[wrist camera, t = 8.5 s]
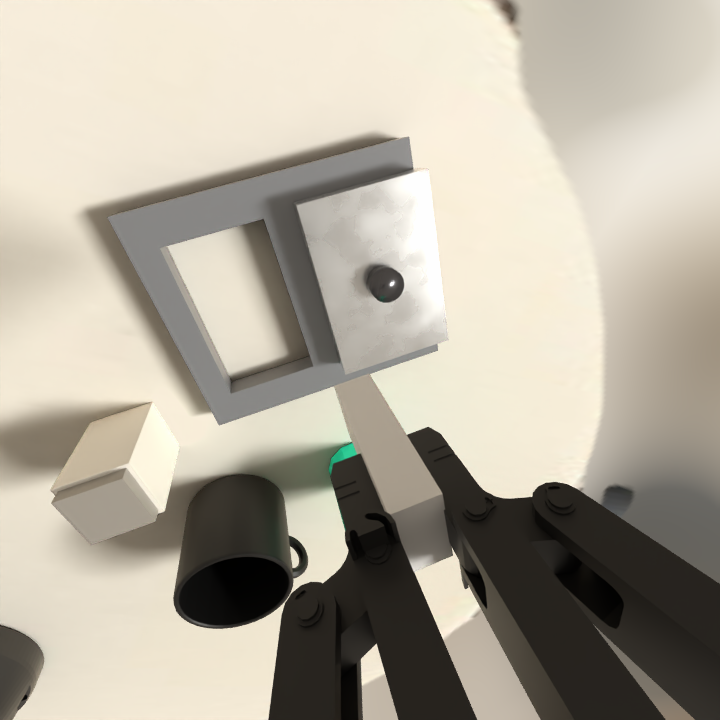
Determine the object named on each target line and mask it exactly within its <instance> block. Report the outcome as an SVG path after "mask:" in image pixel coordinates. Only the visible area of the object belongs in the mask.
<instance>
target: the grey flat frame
mask: <svg viewBox="0 0 720 720" xmlns="http://www.w3.org/2000/svg"><path fill="white" fill-rule="evenodd" d="M412 169H413V162H412V155H411V148H410V140H409V137H404V138H398V139H394V140H390V141H387V142H383V143H379V144H375V145H372V146H368V147H364V148H360V149H357V150H353V151H349V152H345V153H341V154H338V155H334V156H330V157H326V158H323V159H319V160H315V161H311V162H308V163H304V164H300V165H296V166H293V167H289V168H285V169H281V170H278V171H274V172H270V173H266V174H263V175H259V176H255V177H251V178H248V179H244V180H240V181H236V182H233V183H229V184H225V185H221V186H218V187H214V188H210V189H206V190H203V191H199V192H195V193H191V194H188V195H184V196H180V197H176V198H173V199H169V200H165V201H161V202H157V203H154V204H150V205H146V206H142V207H139V208H135V209H131V210H127V211H124V212H120V213H116V214H114V215H111V216H109V217H107V218H108V220H109V222H110V223H111V225H112V227H113V229H114V231H115V233H116V235H117V236H118V238H119V240H120V242H121V244H122V246H123V248H124V249H125V251H126V253H127V255H128V257H129V259H130V261H131V263H132V264H133V266H134V268H135V270H136V272H137V274H138V276H139V277H140V279H141V281H142V283H143V285H144V287H145V289H146V290H147V292H148V294H149V296H150V298H151V300H152V302H153V303H154V305H155V307H156V309H157V311H158V313H159V315H160V316H161V318H162V320H163V322H164V324H165V326H166V328H167V329H168V331H169V333H170V335H171V337H172V339H173V341H174V343H175V344H176V346H177V348H178V350H179V352H180V354H181V356H182V357H183V359H184V361H185V363H186V365H187V367H188V369H189V370H190V372H191V374H192V376H193V378H194V380H195V382H196V383H197V385H198V387H199V389H200V391H201V393H202V395H203V396H204V398H205V400H206V402H207V404H208V406H209V408H210V409H211V411H212V413H213V415H214V417H215V419H216V421H217V422H218V424H219V425H222V424H225V423H228V422H231V421H234V420H236V419H239V418H242V417H245V416H248V415H251V414H254V413H257V412H260V411H263V410H266V409H269V408H272V407H274V406H277V405H280V404H283V403H286V402H289V401H292V400H295V399H298V398H301V397H304V396H307V395H309V394H312V393H315V392H318V391H321V390H324V389H327V388H330V387H333V386H335V385H338V384H341V383H344V382H346V381H349V380H352V379H355V378H358V377H361V376H364V375H367V374H371V373H374V372H377V371H380V370H382V369H385V368H388V367H391V366H394V365H397V364H400V363H403V362H406V361H409V360H412V359H415V358H418V357H420V356H423V355H426V354H429V353H432V352H435V351H438V346H437V344H435V345H432V346H429V347H426V348H423V349H420V350H417V351H414V352H411V353H408V354H405V355H402V356H399V357H396V358H393V359H391V360H388V361H385V362H382V363H379V364H376V365H373V366H370V367H367V368H364V369H361V370H358V371H355V372H352V373H349V374H346V375H345V372H344V370H343V368H342V366H341V364H340V361H339V357H338V354H337V351H336V347H335V344H334V340H333V337H332V334H331V330H330V327H329V323H328V320H327V317H326V313H325V310H324V306H323V303H322V300H321V296H320V293H319V289H318V286H317V283H316V279H315V276H314V272H313V269H312V265H311V262H310V259H309V255H308V252H307V248H306V245H305V242H304V238H303V235H302V231H301V228H300V225H299V221H298V218H297V214H296V211H295V208H294V204H293V202H297V201H300V200H304V199H307V198H311V197H315V196H318V195H322V194H325V193H329V192H333V191H336V190H340V189H343V188H347V187H351V186H354V185H358V184H361V183H365V182H368V181H372V180H376V179H379V178H383V177H386V176H390V175H394V174H397V173H401V172H404V171H408V170H412ZM261 219H264V221H265V224H266V227H267V230H268V233H269V236H270V239H271V242H272V245H273V248H274V251H275V254H276V257H277V260H278V263H279V266H280V269H281V272H282V275H283V277H284V280H285V283H286V286H287V289H288V292H289V295H290V298H291V301H292V304H293V307H294V310H295V313H296V316H297V319H298V322H299V325H300V328H301V331H302V334H303V337H304V340H305V343H306V346H307V349H308V352H309V355H310V356H308V357H305V358H302V359H299V360H296V361H293V362H290V363H287V364H284V365H281V366H278V367H275V368H272V369H269V370H266V371H263V372H260V373H257V374H254V375H251V376H248V377H245V378H242V379H238V380H235V381H231V379H230V377H229V375H228V373H227V371H226V369H225V367H224V365H223V363H222V360H221V358H220V356H219V354H218V352H217V350H216V348H215V346H214V344H213V342H212V340H211V337H210V335H209V333H208V331H207V329H206V327H205V325H204V323H203V321H202V319H201V317H200V315H199V312H198V310H197V308H196V306H195V304H194V302H193V300H192V298H191V296H190V294H189V292H188V289H187V287H186V285H185V283H184V281H183V279H182V277H181V275H180V273H179V271H178V269H177V266H176V264H175V262H174V260H173V258H172V256H171V254H170V252H169V250H168V248H167V246H169V245H172V244H176V243H180V242H183V241H187V240H190V239H194V238H197V237H201V236H204V235H208V234H212V233H215V232H219V231H222V230H226V229H229V228H233V227H237V226H240V225H244V224H247V223H251V222H254V221H258V220H261Z"/></svg>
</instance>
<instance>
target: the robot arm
mask: <svg viewBox="0 0 720 720" xmlns="http://www.w3.org/2000/svg"><path fill="white" fill-rule="evenodd" d="M334 387H335V390H336V394H337V397H338V400H339V403H340V406H341V409H342V413H343V416H344V419H345V422H346V425H347V429H348V432H349V435H350V438H351V440H352V443H353V445H354V448H355V450H356V453H357V455H355V456H352V457H349V458H347V459H344V460H341V461H339V462H336V463H333V467H332V471H331V476H330V477H331V481H332V484H333V488H334V491H335V495H336V498H337V501H338V505H339V508H340V512H341V515H342V519H343V522H344V526H345V529H346V531H345V542H346V544H347V547H348V549H349V551H348V555H347V558H346V560H345V562H344V564H343V565H342V567H341V568H340V569H339V570H338V571H337V572H336V573H335V574H334V575H333V576H331V577H330V578H329V579H328V580H327V581H325V582H324V583H323V584H322V583H321V582H309V583H307V584H304V585H301V586H300V587H299V588H297V589H296V590H295V591H294V592H293V593H292V594H291V595H290V597H289V598H288V600H287V601H286V603H285V606H284V609H283V613H282V618H281V625H280V633H279V641H278V649H277V657H276V665H275V673H274V680H273V688H272V696H271V704H270V712H269V720H363V714H362V684H361V658H362V657H363V656H364V655H365V654H366V653H367V652H368V651H369V650H370V649H371V648H372V647H373V646H374V645H375V644H376V643H377V646H378V650H379V653H380V657H381V660H382V664H383V667H384V671H385V674H386V677H387V681H388V685H389V688H390V692H391V695H392V699H393V702H394V706H395V709H396V713H397V716H398V720H477V718H476V716H475V714H474V711H473V709H472V707H471V704H470V702H469V700H468V697H467V695H466V693H465V690H464V688H463V686H462V683H461V681H460V678H459V676H458V674H457V672H456V669H455V667H454V664H453V662H452V660H451V657H450V655H449V653H448V650H447V648H446V646H445V644H444V641H443V639H442V636H441V634H440V632H439V629H438V627H437V625H436V622H435V620H434V618H433V615H432V613H431V611H430V608H429V606H428V604H427V601H426V599H425V597H424V594H423V592H422V590H421V587H420V585H419V583H418V580H417V578H416V576H415V573H414V572H415V571H418V570H420V569H422V568H425V567H427V566H429V565H432V564H434V563H436V562H439V561H441V560H443V559H446V558H448V557H450V556H453V553H452V548H453V550H454V552H455V554H456V555H457V557H458V559H459V562H460V569H461V575H462V581H463V585H464V588H465V589H467V588H468V585H469V587H470V589H471V591H472V593H473V595H474V596H475V598H476V600H477V602H478V604H479V606H480V608H481V609H482V611H483V613H484V615H485V617H486V619H487V621H488V622H489V624H490V626H491V628H492V630H493V632H494V634H495V635H496V637H497V639H498V641H499V643H500V645H501V647H502V648H503V650H504V652H505V654H506V656H507V658H508V660H509V661H510V663H511V665H512V667H513V669H514V671H515V672H516V675H517V676H518V678H519V680H520V682H521V684H522V686H523V688H524V689H525V691H526V693H527V695H528V697H529V699H530V701H531V702H532V704H533V706H534V708H535V710H536V712H537V714H538V715H539V717H540V719H541V720H665V718H664V717H663V716H662V714H661V713H660V712H659V711H658V709H657V708H656V706H655V705H654V704H653V702H652V701H651V700H650V699H649V697H648V696H647V695H646V693H645V692H644V691H643V689H642V688H641V687H640V685H639V684H638V683H637V682H636V680H635V679H634V678H633V676H632V675H631V674H630V672H629V671H628V670H627V668H626V667H625V666H624V664H623V663H622V662H621V661H620V659H619V658H618V657H617V655H616V654H615V653H614V651H613V650H612V649H611V647H610V646H609V645H608V643H607V642H606V641H605V640H604V638H603V637H602V636H601V634H600V633H599V632H598V630H597V629H596V628H595V626H596V627H597V628H598V629H599V630H600V631H601V632H602V633H603V634H604V635H605V636H606V637H607V638H608V639H610V640H611V641H612V642H613V643H614V644H615V645H616V646H617V647H618V648H619V649H620V650H621V651H623V653H625V654H626V655H627V656H628V657H629V658H630V659H631V660H632V661H633V662H634V663H635V664H636V665H637V666H639V667H640V668H641V669H642V670H643V671H644V672H645V673H646V674H647V675H648V676H649V677H650V678H652V680H653V681H654V682H656V683H657V684H658V685H659V686H660V687H661V688H662V689H663V690H664V691H665V692H666V693H667V694H668V695H669V696H671V697H672V698H673V699H674V700H675V701H676V702H677V703H678V704H679V705H680V706H681V707H682V708H683V709H685V711H687V712H688V713H689V714H690V715H691V716H692V717H693V718H694V719H695V720H720V584H719V583H717V582H716V581H714V580H713V579H711V578H710V577H708V576H707V575H705V574H704V573H702V572H701V571H699V570H698V569H696V568H695V567H693V566H692V565H690V564H689V563H687V562H686V561H684V560H683V559H681V558H680V557H678V556H677V555H675V554H674V553H672V552H671V551H669V550H668V549H666V548H665V547H663V546H662V545H660V544H659V543H657V542H656V541H654V540H653V539H651V538H650V537H648V536H647V535H645V534H644V533H642V532H641V531H639V530H638V529H636V528H635V527H633V526H632V525H630V524H629V523H627V522H626V521H624V520H623V519H621V518H620V517H618V516H617V515H615V514H614V513H612V512H611V511H609V510H608V509H606V508H605V507H603V506H602V505H600V504H599V503H597V502H596V501H594V500H593V499H591V498H590V497H588V496H586V495H585V494H584V493H582V492H581V491H579V490H578V489H576V488H574V487H572V486H570V485H568V484H564V483H558V482H551V483H545V484H543V485H541V486H538V487H537V489H536V490H535V491H534V492H533V497H527V498H515V499H504V498H499V497H495V496H493V495H492V494H490V493H487V492H485V491H484V490H483V489H482V488H481V487H480V486H479V485H478V484H477V482H476V481H475V480H474V478H473V477H472V476H471V474H470V473H469V472H468V470H467V469H466V468H465V466H464V465H463V463H462V462H461V461H460V459H459V458H458V457H457V455H455V453H454V451H453V450H452V449H451V447H450V446H449V445H448V443H447V442H446V441H445V439H444V438H443V436H442V435H441V434H440V433H438V432H437V431H435V430H433V429H431V428H430V427H427V428H424V429H421V430H419V431H416V432H413V433H411V434H408V435H406V433H405V431H404V430H403V428H402V427H401V425H400V423H399V422H398V420H397V418H396V417H395V415H394V413H393V412H392V410H391V409H390V407H389V405H388V404H387V402H386V400H385V399H384V397H383V396H382V394H381V392H380V391H379V389H378V387H377V386H376V384H375V382H374V381H373V379H372V378H371V376H370V374H367V375H364V376H361V377H358V378H355V379H352V380H349V381H346V382H344V383H341V384H338V385H335V386H334ZM451 546H452V547H451ZM593 624H594V625H595V626H594V625H593ZM43 664H44V656H43V653H42V650H41V649H40V647H39V646H38V645H37V644H36V643H35V642H34V641H33V640H32V639H30V638H29V637H27V636H25V635H24V634H22V633H19V632H17V631H15V630H12V629H9V628H5V627H2V626H0V720H13V718H14V716H15V715H16V713H17V711H18V710H19V709H20V708H21V707H22V706H23V705H24V704H25V703H26V701H27V700H28V698H29V697H30V695H31V694H32V692H33V690H34V688H35V685H36V683H37V680H38V678H39V675H40V673H41V670H42V668H43Z"/></svg>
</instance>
